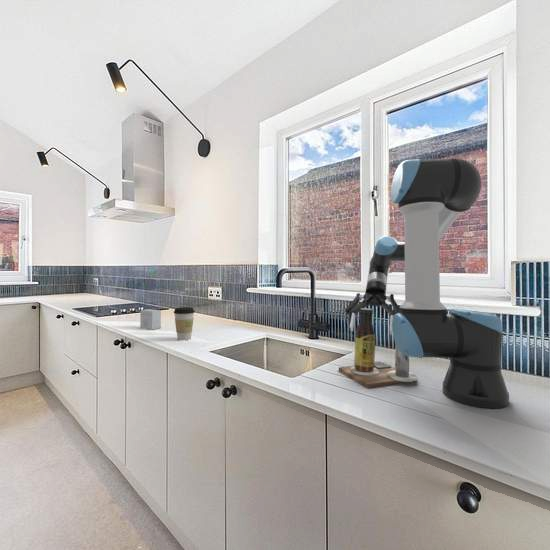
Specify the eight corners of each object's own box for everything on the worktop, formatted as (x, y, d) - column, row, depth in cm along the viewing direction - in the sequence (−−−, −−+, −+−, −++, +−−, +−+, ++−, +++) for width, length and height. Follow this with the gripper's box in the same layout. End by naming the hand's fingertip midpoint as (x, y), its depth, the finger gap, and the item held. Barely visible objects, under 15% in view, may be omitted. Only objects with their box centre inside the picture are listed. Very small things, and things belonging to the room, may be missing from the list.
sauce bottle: (363, 374, 96) (364, 310, 96) (350, 368, 102) (351, 308, 101) (379, 371, 99) (380, 309, 99) (365, 365, 105) (366, 307, 104)
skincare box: (161, 328, 178) (161, 310, 178) (151, 330, 172) (151, 311, 172) (149, 326, 183) (149, 308, 183) (139, 328, 178) (139, 310, 177)
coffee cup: (197, 339, 149) (197, 308, 149) (177, 342, 143) (177, 310, 143) (190, 336, 157) (190, 306, 157) (171, 338, 152) (171, 308, 151)
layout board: (424, 383, 93) (424, 377, 93) (373, 391, 87) (373, 384, 87) (384, 365, 110) (384, 359, 110) (338, 370, 104) (338, 365, 104)
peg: (412, 376, 94) (412, 331, 94) (401, 378, 93) (401, 331, 93) (402, 372, 98) (403, 328, 98) (392, 373, 97) (392, 329, 96)
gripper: (410, 293, 120) (408, 340, 107) (346, 291, 131) (337, 333, 118) (410, 280, 115) (408, 327, 102) (343, 279, 126) (334, 322, 113)
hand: (370, 331), depth 110 cm, fingers open, 13 cm apart
